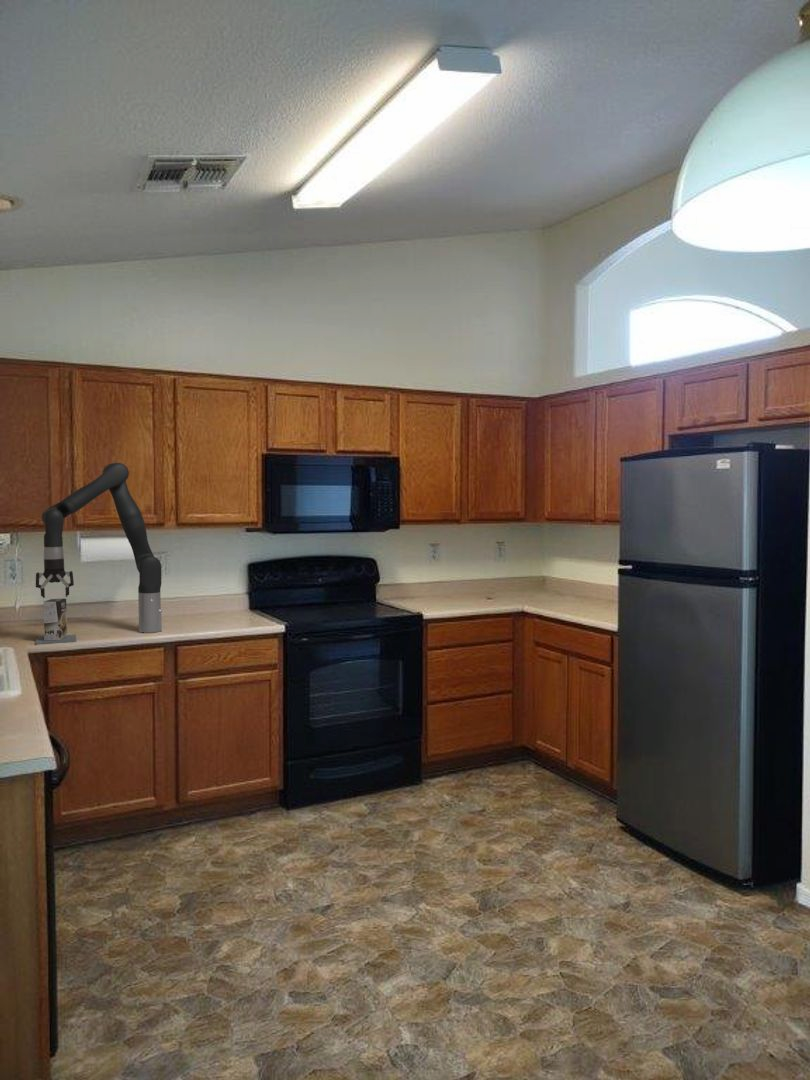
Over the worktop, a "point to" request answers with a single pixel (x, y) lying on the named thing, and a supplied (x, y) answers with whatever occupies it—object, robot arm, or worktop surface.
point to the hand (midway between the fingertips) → (55, 597)
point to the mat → (67, 639)
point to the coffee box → (55, 619)
